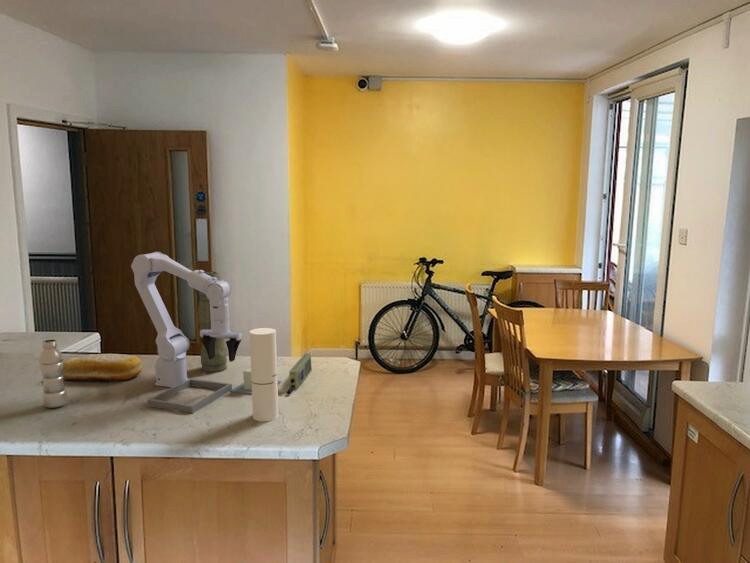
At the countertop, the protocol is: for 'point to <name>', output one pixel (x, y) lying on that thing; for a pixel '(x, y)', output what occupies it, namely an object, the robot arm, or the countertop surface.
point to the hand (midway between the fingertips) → (221, 359)
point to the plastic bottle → (52, 375)
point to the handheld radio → (299, 372)
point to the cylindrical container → (264, 374)
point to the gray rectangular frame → (158, 403)
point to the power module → (247, 379)
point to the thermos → (205, 322)
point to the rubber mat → (241, 389)
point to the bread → (102, 367)
